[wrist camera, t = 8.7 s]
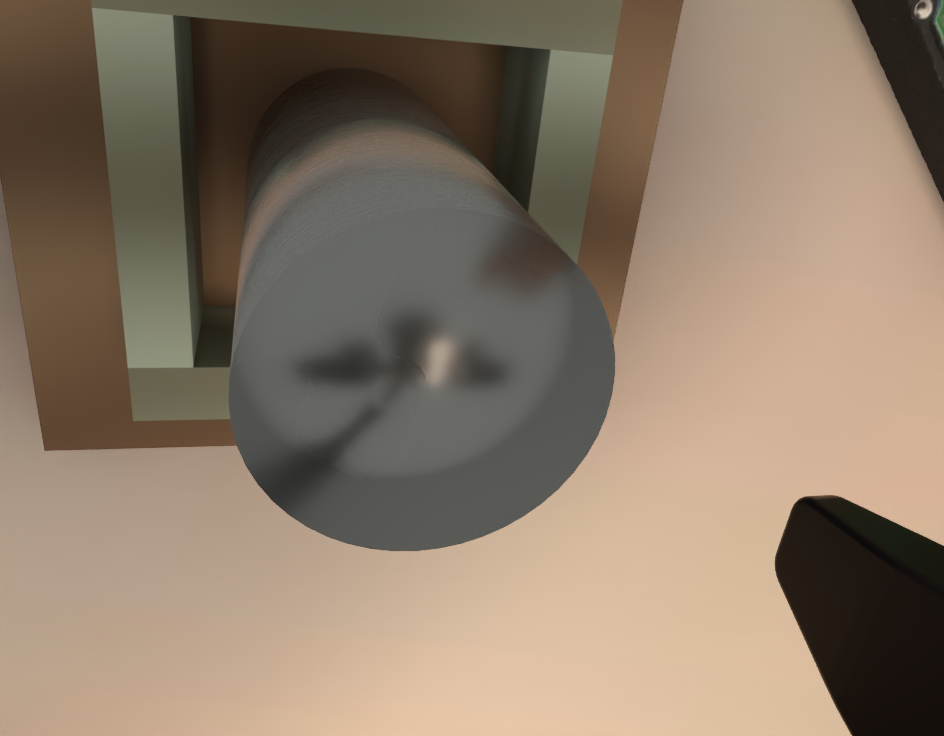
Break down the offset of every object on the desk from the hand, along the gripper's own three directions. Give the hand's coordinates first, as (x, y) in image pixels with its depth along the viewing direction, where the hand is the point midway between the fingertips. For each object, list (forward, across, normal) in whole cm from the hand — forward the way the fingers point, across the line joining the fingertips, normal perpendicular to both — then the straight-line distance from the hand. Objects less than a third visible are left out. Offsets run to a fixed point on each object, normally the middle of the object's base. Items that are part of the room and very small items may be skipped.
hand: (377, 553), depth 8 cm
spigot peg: (+12, -1, -1) cm, 12 cm away
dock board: (+13, -1, -1) cm, 13 cm away
